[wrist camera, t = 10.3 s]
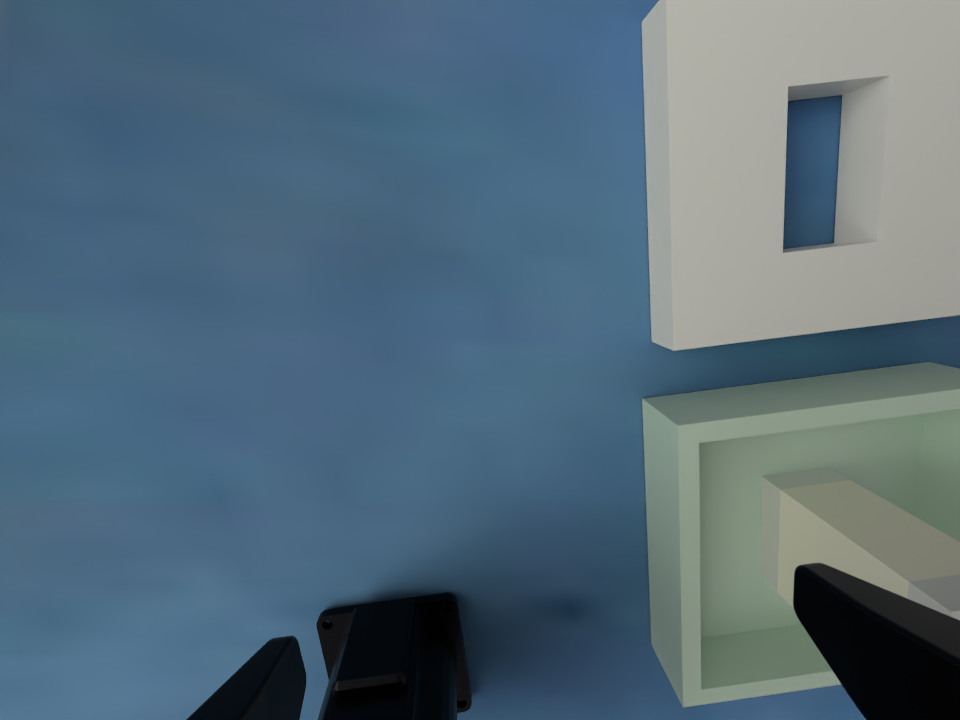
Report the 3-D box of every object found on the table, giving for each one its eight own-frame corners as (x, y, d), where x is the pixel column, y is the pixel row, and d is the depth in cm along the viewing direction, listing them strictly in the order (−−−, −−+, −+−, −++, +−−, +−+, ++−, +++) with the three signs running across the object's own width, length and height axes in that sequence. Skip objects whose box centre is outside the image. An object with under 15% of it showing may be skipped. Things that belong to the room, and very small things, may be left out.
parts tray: (902, 608, 23) (973, 664, 20) (651, 644, 23) (683, 707, 20) (929, 362, 21) (1016, 381, 17) (642, 398, 20) (677, 425, 17)
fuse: (822, 564, 22) (1028, 738, 14) (759, 573, 22) (932, 753, 14) (827, 467, 21) (1056, 596, 13) (761, 476, 20) (951, 611, 13)
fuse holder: (923, 307, 20) (974, 312, 18) (651, 341, 20) (673, 350, 18) (956, -12, 17) (1020, -46, 15) (641, 22, 17) (666, -8, 15)
